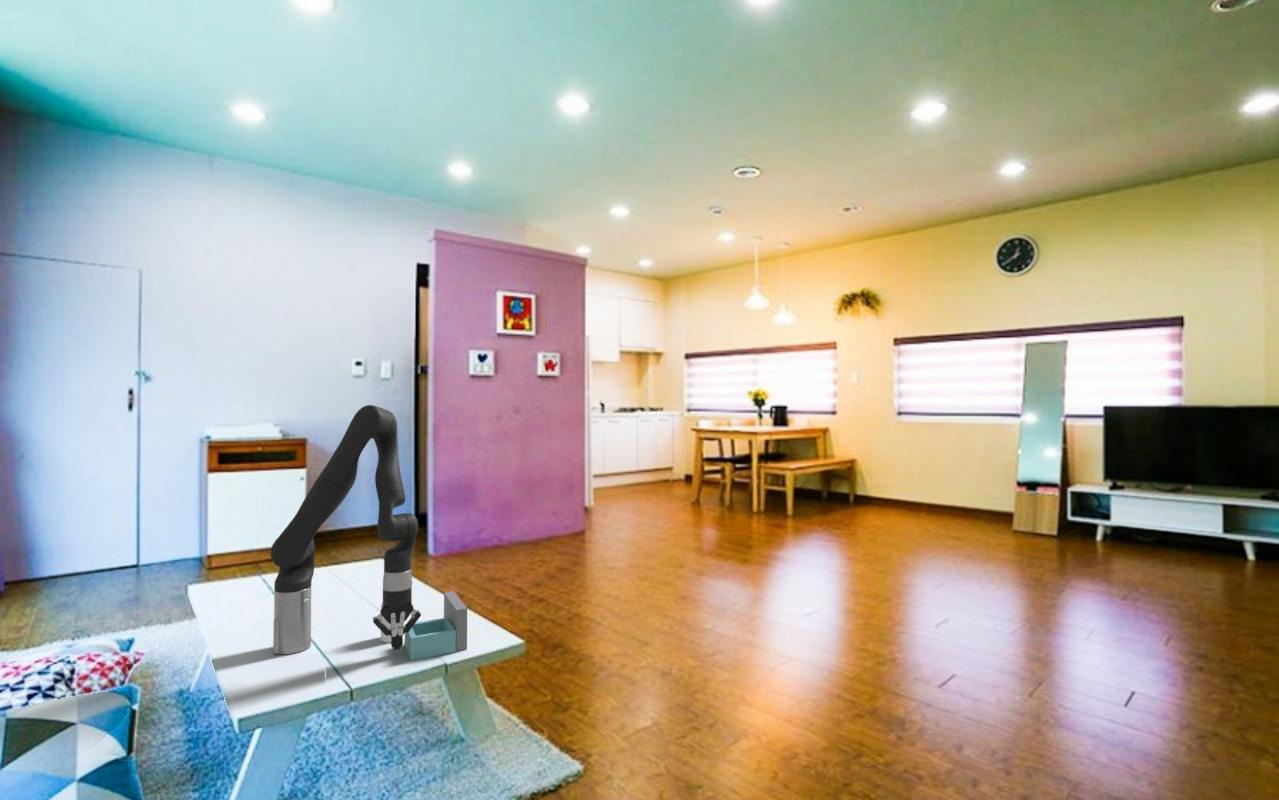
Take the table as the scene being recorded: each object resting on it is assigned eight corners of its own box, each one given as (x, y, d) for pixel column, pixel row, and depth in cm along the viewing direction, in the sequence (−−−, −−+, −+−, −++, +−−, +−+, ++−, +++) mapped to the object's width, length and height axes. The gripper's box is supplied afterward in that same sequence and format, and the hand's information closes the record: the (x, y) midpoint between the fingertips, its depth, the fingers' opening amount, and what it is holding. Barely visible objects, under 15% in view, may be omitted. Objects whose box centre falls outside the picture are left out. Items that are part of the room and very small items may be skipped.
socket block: (410, 660, 166) (410, 638, 166) (404, 645, 176) (404, 624, 176) (455, 652, 172) (455, 630, 172) (447, 637, 182) (447, 617, 182)
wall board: (456, 652, 172) (456, 609, 172) (443, 631, 188) (444, 592, 188) (466, 650, 174) (467, 608, 174) (453, 629, 189) (454, 590, 189)
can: (408, 639, 182) (408, 598, 182) (387, 645, 177) (387, 604, 177) (397, 633, 186) (398, 594, 186) (376, 639, 181) (377, 599, 181)
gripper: (420, 579, 176) (419, 639, 176) (370, 585, 170) (369, 648, 170) (424, 586, 170) (423, 649, 169) (372, 593, 163) (371, 658, 163)
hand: (396, 648), depth 170 cm, fingers closed
